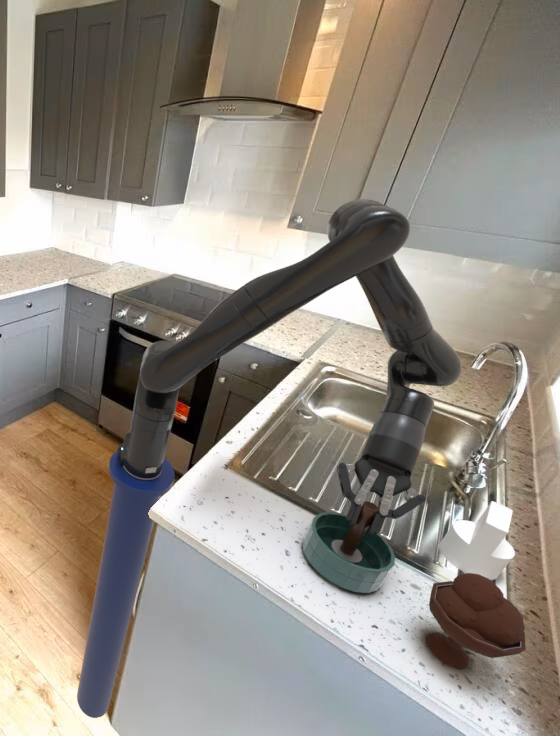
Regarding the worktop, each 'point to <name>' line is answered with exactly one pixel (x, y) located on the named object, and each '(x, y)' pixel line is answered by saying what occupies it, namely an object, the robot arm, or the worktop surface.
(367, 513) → the brown peg on base
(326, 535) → the mixing bowl
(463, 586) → the ice cream bowl
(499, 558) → the base with upright slab
